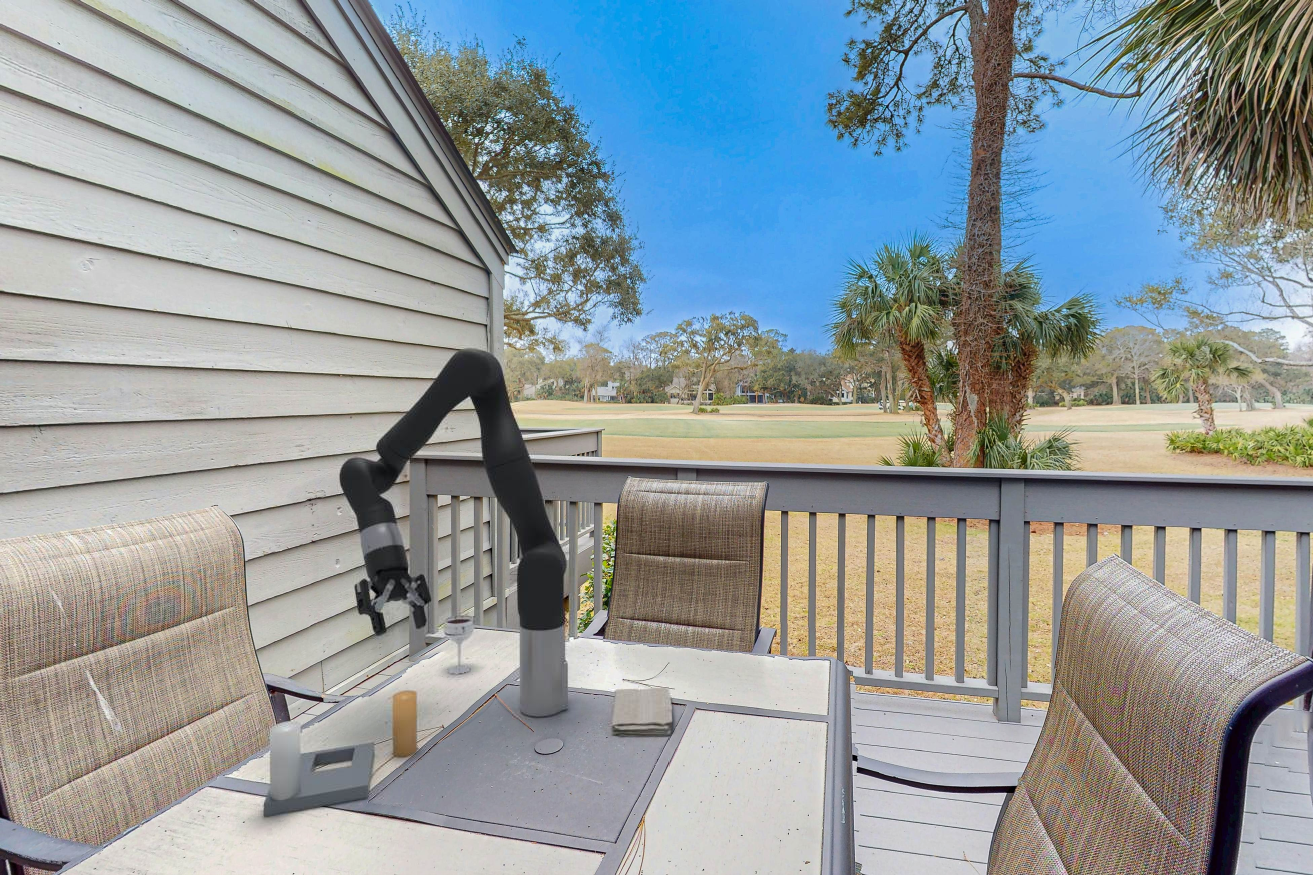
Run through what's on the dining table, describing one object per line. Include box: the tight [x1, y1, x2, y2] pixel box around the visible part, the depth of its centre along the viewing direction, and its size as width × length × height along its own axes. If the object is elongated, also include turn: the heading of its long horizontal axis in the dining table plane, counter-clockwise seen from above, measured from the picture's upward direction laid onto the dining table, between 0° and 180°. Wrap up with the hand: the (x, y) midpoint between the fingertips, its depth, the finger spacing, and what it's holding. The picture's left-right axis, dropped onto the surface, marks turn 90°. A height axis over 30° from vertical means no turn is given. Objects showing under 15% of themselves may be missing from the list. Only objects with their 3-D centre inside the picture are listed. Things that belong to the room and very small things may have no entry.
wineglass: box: [443, 614, 475, 675], centre depth 148 cm, size 7×7×12 cm
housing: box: [263, 720, 375, 818], centre depth 102 cm, size 14×14×12 cm
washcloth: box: [610, 687, 673, 737], centre depth 126 cm, size 12×18×3 cm, turn 2°
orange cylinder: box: [391, 689, 418, 758], centre depth 112 cm, size 4×4×10 cm
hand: (402, 630), depth 119 cm, fingers open, 8 cm apart
